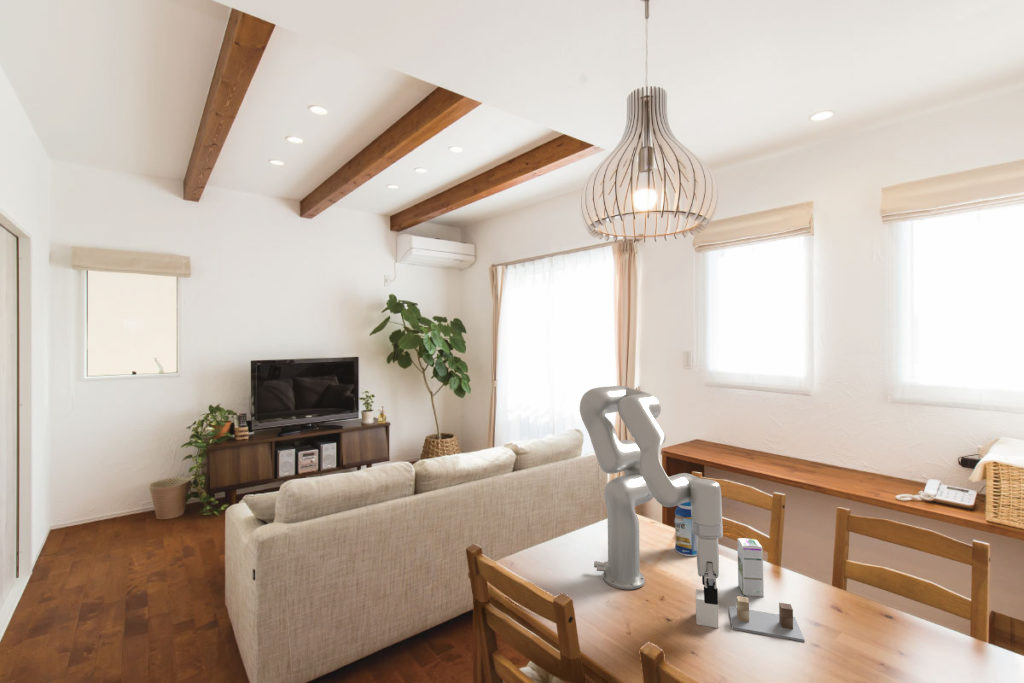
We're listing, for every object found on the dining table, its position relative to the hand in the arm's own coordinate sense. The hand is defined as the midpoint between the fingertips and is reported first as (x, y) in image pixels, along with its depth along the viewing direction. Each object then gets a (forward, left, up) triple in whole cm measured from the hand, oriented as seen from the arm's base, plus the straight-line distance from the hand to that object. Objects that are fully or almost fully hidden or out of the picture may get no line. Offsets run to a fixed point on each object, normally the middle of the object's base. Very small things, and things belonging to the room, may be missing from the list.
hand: (709, 594), depth 124 cm
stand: (+13, +4, -7) cm, 16 cm away
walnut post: (+18, +4, -7) cm, 20 cm away
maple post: (+8, +4, -7) cm, 12 cm away
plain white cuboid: (-1, +1, -7) cm, 7 cm away
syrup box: (+12, +21, -8) cm, 25 cm away
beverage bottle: (-5, +43, -8) cm, 43 cm away
